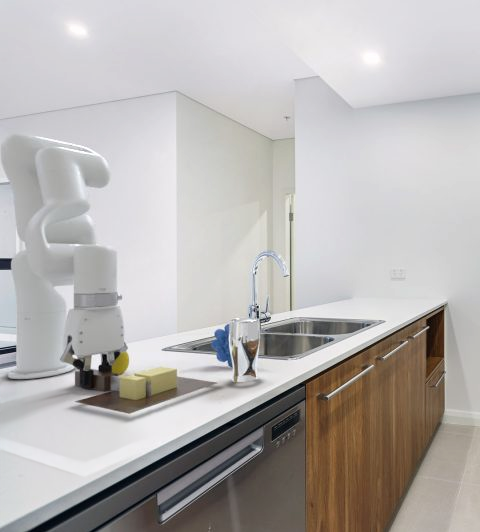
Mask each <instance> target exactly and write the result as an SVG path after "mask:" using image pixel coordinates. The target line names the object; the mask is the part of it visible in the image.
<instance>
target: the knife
mask: <svg viewBox="0 0 480 532" xmlns="http://www.w3.org/2000/svg"><path fill="white" fill-rule="evenodd" d="M91 370H93V371H94V375H93V388H92V389H91V390H95V391H100V392H109V391H119V392H120V377H121V376H119V375H118V373H114V372H108V371H101V370H98V369H95V368H91ZM74 386H75V387H79V388H82V387H81V385H80V370H76V371H75V370H74ZM146 397H151V382H149V381H146Z"/></svg>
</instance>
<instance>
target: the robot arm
mask: <svg viewBox="0 0 480 532" xmlns="http://www.w3.org/2000/svg"><path fill="white" fill-rule="evenodd" d="M0 162H1V165H2V168H3V171H4V172H5V176H6V178H7V179H8V182H9V184H10V186H11V189H12V192H13V193H12V194H13V204H14V214H15V216H14V217H15V227H16V232H17V236H18V238H19V239H20V241H22V242H23V243H24V247H25V250H24V249H23V250H21V251H18V252H17V253H15V254H14V255H13V257H12V259H11V261H10V271H11V275H12V279H13V284H14V289H15V302H16V310H15V311H16V357H15V358H14V361H15V363H16V368H14V369H12V370H9V371H8V372H7V377H8V378H9V379H12V380H30V379H31V380H32V379H40V378H48V377H51V376H58V375H61V374H65V373H68V372H71V371H73V370H74V369H75V368H76V370H77V371H79V370H80V385H81V387H80V388H82V389H86V390H93V389H92V388H93V375H94V371H93V370H91V369H92V356H96V355H100V364H99V365H98V367H97V368H98V369H97V370H101V371H108V372H112V365H114V363H115V360H116V359H117V358H118V357H119V355H120V354H122V353H123V352H125V351H128V349H129V347H128V345H127V343H126V342H125V327H124V326H125V325H124V318H123V314H122V310H121V306H119V305H118V303H119V302H118V301H122V299H123V295H122V294H119V293H118V251H117V248H115V246H113V245H109V244H98V238H97V229H96V225H95V221H94V220H93V218H92V216H90V215H89V214H87V212H89V211H90V209H91V207H92V206H91V205H92V204H91V200H90V197H89V193H88V188H87V187H89V188H94V189H103V188H105V187H107V186H108V184H109V183H110V181H111V174H112V173H111V168H110V165H109V163H108V161H107V160H106V158H104V157H103V156H102V155H101V154H99V153H97V152H95V151H93V150H92V149H90V148H88V147H85V146H82V145H78V144H74V143H70V142H64V141H60V140H54V139H51V138H46V137H42V136H36V135H31V134H25V133H24V134H22V133H16V134H10V135H7V136H5V138H3V140H2V142H1V145H0ZM64 286H73V308H70V309H69V308H68V307H67V302H66V299H65V297H64V296H63V295H62V294H60V292H59V291H57V290H56V289H55V287H64ZM67 308H68V311H67ZM74 356H76V358H75V357H74Z"/></svg>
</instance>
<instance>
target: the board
mask: <svg viewBox="0 0 480 532" xmlns="http://www.w3.org/2000/svg"><path fill="white" fill-rule="evenodd" d="M216 384H217V382H215V381H209V380H204V379H197V378H189V377H185V376H184V377H183V376H177V387H176V388H173V389H170V390H167V391H164V392H161V393H157V394H154V395H151V397H145V398H142V399H139V400H132V399H127V398H122V397H120V392H119V391H114V390H109V391H106V392H103V393H99V394H96V395H93V396H90V397H85V398H83V399H79V400H75V401H74V402H75V403H79V404H83V405H88V406H92V407H97V408H102V409H106V410H110V411H115V412H119V413H124V414H129V415H130V414H132V413H136V412H139V411H142V410H144V409H147V408H151V407H153V406H156V405H158V404H161V403H165V402H168V401H170V400H173V399H175V398H178V397H181V396H185V395H187V394H190V393H193V392H196V391H199V390H202V389H205V388H208V387H211V386H214V385H216Z"/></svg>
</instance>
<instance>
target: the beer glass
mask: <svg viewBox="0 0 480 532" xmlns="http://www.w3.org/2000/svg"><path fill="white" fill-rule="evenodd" d="M260 320H261V319H260V318H257V317H239V318H232V319H230V320H229V324H230V326H229V349H230V354H231V360H232V366H233V368H232V373H231V380H230V381H232V382H234V383H247V382H252V381H255V380H258V378H259V376H258V369H257V367H258V359H259V354H260V348H261V321H260Z"/></svg>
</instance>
